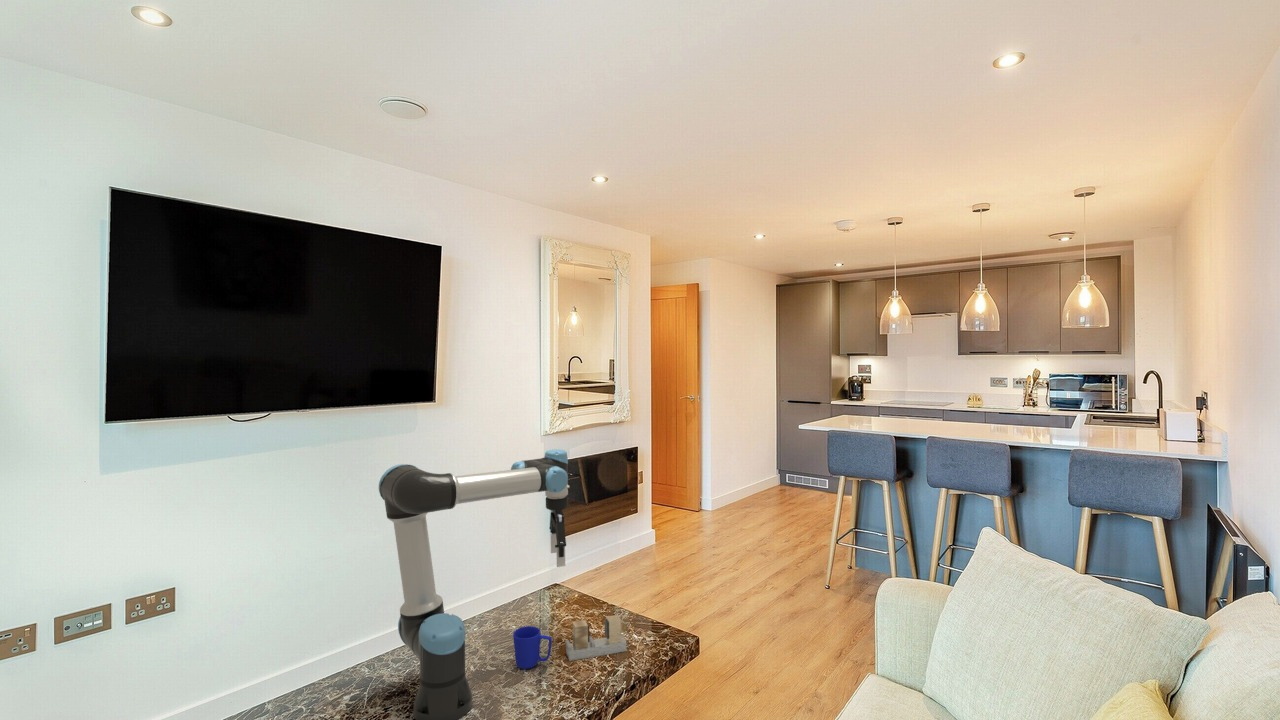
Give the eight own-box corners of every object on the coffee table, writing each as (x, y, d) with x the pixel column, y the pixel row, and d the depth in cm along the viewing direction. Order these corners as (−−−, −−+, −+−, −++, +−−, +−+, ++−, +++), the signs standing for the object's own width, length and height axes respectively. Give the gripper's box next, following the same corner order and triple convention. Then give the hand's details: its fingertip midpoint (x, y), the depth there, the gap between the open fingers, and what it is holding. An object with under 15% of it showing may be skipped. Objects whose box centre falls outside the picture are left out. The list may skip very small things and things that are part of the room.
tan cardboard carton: (575, 649, 182) (575, 627, 182) (572, 643, 186) (572, 621, 186) (589, 647, 184) (589, 625, 184) (587, 641, 188) (586, 619, 188)
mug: (546, 674, 174) (546, 641, 174) (509, 670, 177) (508, 637, 176) (556, 660, 182) (555, 628, 182) (520, 656, 185) (519, 625, 185)
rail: (568, 661, 181) (568, 629, 181) (565, 653, 186) (565, 622, 186) (626, 651, 187) (626, 620, 187) (622, 643, 192) (621, 613, 192)
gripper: (574, 504, 185) (575, 570, 185) (562, 487, 209) (563, 546, 209) (550, 506, 183) (551, 573, 183) (541, 488, 207) (541, 548, 207)
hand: (557, 559), depth 196 cm, fingers open, 13 cm apart
